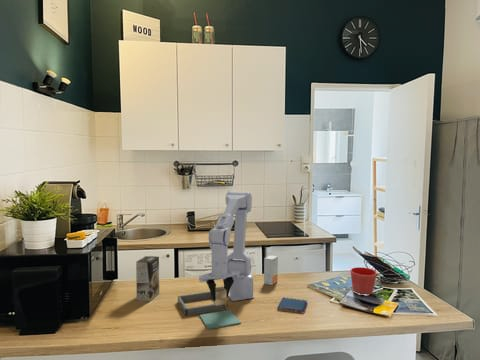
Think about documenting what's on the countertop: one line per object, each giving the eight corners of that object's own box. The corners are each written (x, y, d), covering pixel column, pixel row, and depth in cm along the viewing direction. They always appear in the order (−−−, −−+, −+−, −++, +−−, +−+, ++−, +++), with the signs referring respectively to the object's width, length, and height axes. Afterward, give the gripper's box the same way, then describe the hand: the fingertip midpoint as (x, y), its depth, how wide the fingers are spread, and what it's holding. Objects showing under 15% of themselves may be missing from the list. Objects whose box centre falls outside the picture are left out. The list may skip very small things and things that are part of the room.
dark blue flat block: (281, 301, 151) (281, 296, 151) (307, 304, 148) (307, 299, 148) (276, 311, 141) (276, 306, 141) (303, 315, 138) (304, 310, 138)
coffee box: (150, 301, 150) (150, 262, 148) (136, 300, 151) (135, 261, 150) (160, 293, 158) (159, 256, 157) (146, 292, 160) (145, 255, 158)
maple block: (222, 299, 136) (222, 286, 135) (226, 304, 132) (226, 290, 131) (212, 301, 134) (212, 288, 134) (215, 305, 130) (215, 291, 130)
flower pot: (378, 291, 160) (379, 269, 159) (372, 300, 151) (373, 276, 150) (354, 286, 166) (354, 265, 165) (346, 294, 156) (347, 272, 156)
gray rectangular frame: (214, 296, 155) (214, 290, 154) (225, 309, 142) (225, 303, 142) (177, 302, 149) (177, 296, 149) (185, 316, 136) (185, 309, 136)
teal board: (230, 311, 140) (230, 309, 140) (240, 323, 130) (240, 322, 130) (199, 316, 136) (199, 315, 136) (208, 329, 126) (208, 328, 126)
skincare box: (272, 285, 167) (272, 259, 166) (263, 283, 170) (263, 258, 169) (277, 281, 172) (278, 256, 171) (269, 279, 175) (269, 255, 174)
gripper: (202, 267, 125) (203, 306, 126) (242, 262, 130) (242, 300, 131) (197, 261, 132) (197, 298, 133) (235, 257, 137) (235, 293, 138)
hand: (219, 298), depth 132 cm, fingers closed on maple block, 4 cm apart
